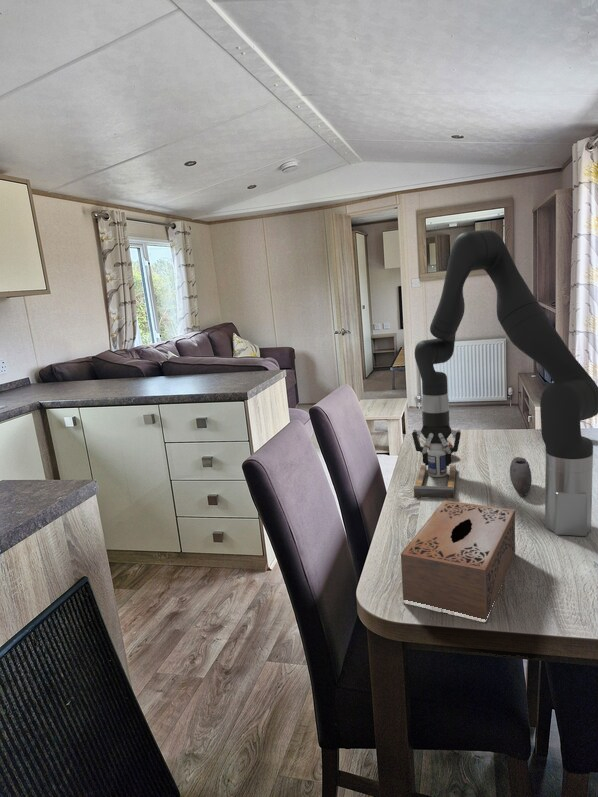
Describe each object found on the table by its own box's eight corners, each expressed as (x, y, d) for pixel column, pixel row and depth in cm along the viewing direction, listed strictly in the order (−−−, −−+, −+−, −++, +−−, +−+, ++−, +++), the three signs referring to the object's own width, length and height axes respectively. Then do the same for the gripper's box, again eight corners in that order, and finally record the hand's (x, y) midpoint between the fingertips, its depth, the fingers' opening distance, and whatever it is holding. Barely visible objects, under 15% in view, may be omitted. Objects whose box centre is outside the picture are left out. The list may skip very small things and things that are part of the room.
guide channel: (453, 498, 143) (453, 489, 142) (414, 497, 146) (413, 488, 145) (455, 470, 163) (455, 462, 163) (421, 469, 166) (420, 461, 166)
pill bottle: (445, 470, 163) (444, 439, 161) (448, 477, 158) (447, 444, 156) (427, 471, 164) (425, 440, 162) (429, 478, 159) (428, 445, 157)
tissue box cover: (486, 625, 91) (485, 570, 89) (403, 605, 99) (400, 554, 97) (515, 555, 113) (514, 509, 111) (445, 543, 120) (443, 500, 118)
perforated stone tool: (533, 501, 137) (533, 474, 136) (511, 500, 139) (510, 474, 138) (529, 480, 151) (529, 456, 150) (509, 479, 153) (509, 455, 151)
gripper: (408, 412, 156) (411, 468, 159) (461, 411, 151) (462, 469, 155) (411, 405, 163) (413, 460, 166) (461, 405, 158) (463, 461, 162)
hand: (437, 464), depth 160 cm, fingers closed on pill bottle, 5 cm apart
